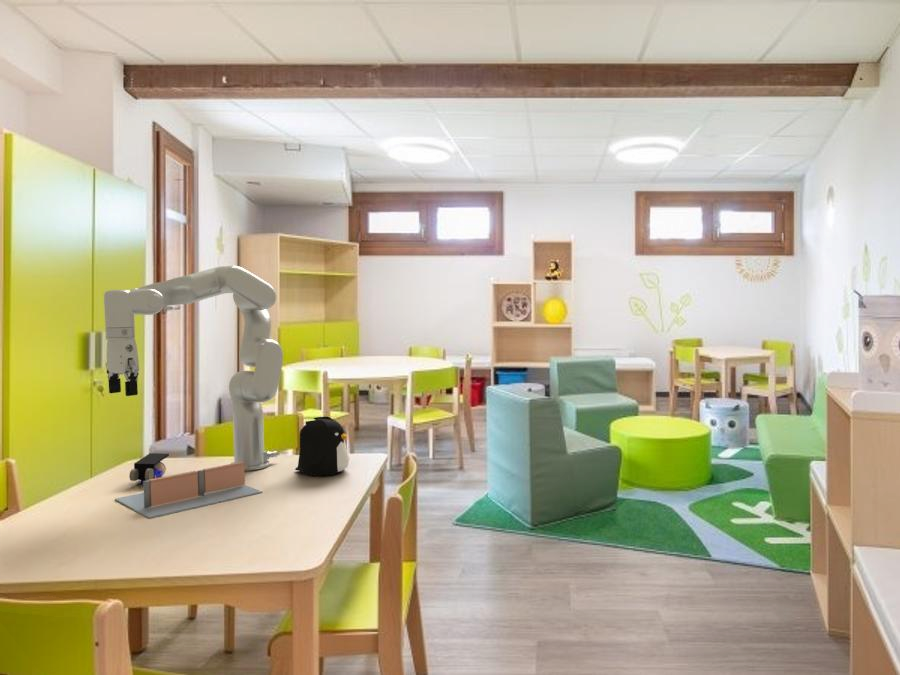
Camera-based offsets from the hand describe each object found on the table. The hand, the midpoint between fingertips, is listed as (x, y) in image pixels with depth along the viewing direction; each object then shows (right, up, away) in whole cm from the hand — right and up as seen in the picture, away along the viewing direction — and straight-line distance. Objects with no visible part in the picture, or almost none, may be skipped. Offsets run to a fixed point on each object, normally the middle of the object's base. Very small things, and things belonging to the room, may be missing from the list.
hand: (123, 394), depth 201 cm
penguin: (+52, -27, +24) cm, 63 cm away
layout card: (+19, -29, -1) cm, 35 cm away
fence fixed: (+17, -29, -7) cm, 35 cm away
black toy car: (+1, -28, +16) cm, 33 cm away
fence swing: (+28, -27, +3) cm, 39 cm away
